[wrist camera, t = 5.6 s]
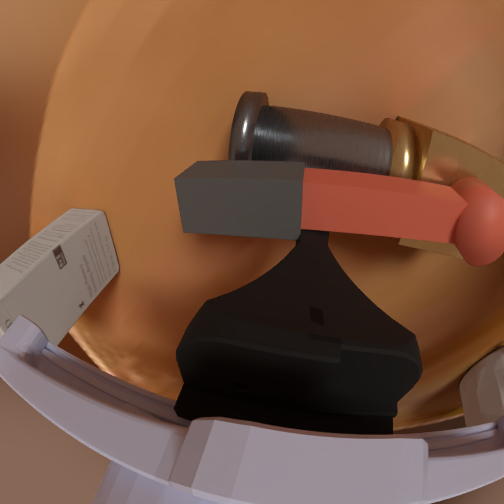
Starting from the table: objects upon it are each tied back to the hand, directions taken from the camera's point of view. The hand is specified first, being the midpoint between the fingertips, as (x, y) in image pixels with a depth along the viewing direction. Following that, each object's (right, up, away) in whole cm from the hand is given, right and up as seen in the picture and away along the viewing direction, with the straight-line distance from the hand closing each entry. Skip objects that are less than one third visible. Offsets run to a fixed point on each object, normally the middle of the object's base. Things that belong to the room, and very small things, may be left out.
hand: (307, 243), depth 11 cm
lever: (+2, +2, -1) cm, 3 cm away
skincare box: (-16, +1, +10) cm, 18 cm away
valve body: (+8, +4, +2) cm, 9 cm away
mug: (+27, -13, +9) cm, 31 cm away
